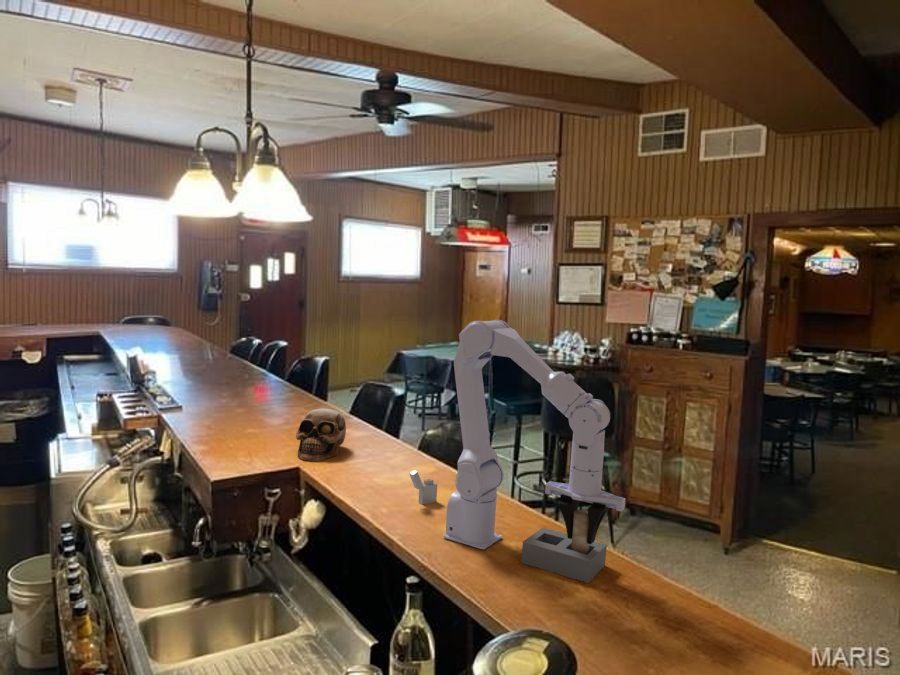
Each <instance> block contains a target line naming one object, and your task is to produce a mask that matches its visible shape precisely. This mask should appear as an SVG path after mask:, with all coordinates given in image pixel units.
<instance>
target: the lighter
mask: <svg viewBox="0 0 900 675" xmlns="http://www.w3.org/2000/svg"><path fill="white" fill-rule="evenodd" d="M408 475H409V476H410V480H411V482H412V484H413V487H414V489H417V490H418V504H420V505H428V504H433V503H436V502H437V500H438V499H437V498H438V483H437V482H435V481H434V479H431V478H429V479H424V480H423V482H422V479H421V476H420V474H419V472H418V471H417V470H414V469H413V470H411V471H410V472H409V474H408Z"/></svg>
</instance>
